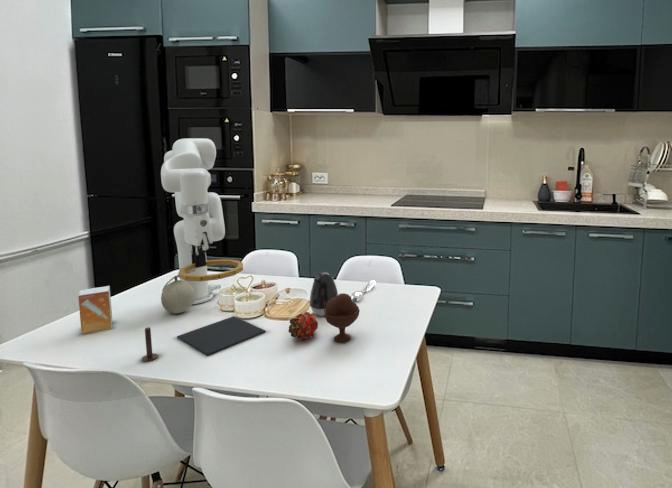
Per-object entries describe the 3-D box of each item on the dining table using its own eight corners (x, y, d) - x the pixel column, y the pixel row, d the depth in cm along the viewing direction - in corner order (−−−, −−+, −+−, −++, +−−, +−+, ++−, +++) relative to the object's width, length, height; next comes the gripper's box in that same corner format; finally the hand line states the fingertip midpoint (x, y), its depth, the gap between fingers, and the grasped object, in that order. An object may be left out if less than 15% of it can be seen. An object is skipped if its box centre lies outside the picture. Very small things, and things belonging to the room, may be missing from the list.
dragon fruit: (293, 351, 131) (308, 339, 142) (316, 336, 130) (328, 324, 142) (278, 328, 131) (294, 317, 143) (300, 312, 131) (314, 302, 143)
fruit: (153, 316, 153) (149, 275, 151) (181, 304, 163) (178, 266, 162) (175, 320, 149) (172, 278, 147) (202, 308, 160) (199, 269, 158)
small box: (81, 334, 139) (77, 295, 137) (83, 327, 144) (79, 289, 143) (112, 328, 143) (108, 290, 142) (113, 321, 148) (109, 285, 147)
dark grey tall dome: (303, 316, 152) (302, 274, 150) (321, 305, 162) (319, 266, 160) (328, 321, 148) (327, 278, 147) (344, 309, 158) (343, 269, 156)
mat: (233, 317, 152) (233, 316, 151) (265, 332, 140) (265, 330, 140) (177, 337, 136) (176, 336, 136) (207, 356, 125) (207, 354, 125)
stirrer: (368, 275, 184) (378, 276, 183) (368, 283, 185) (378, 284, 184) (348, 294, 165) (359, 295, 164) (348, 303, 166) (360, 304, 165)
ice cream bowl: (365, 333, 139) (364, 288, 137) (349, 350, 128) (347, 301, 126) (336, 329, 142) (335, 285, 140) (317, 344, 132) (316, 297, 130)
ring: (224, 260, 147) (224, 256, 147) (254, 270, 136) (254, 265, 136) (168, 273, 133) (168, 269, 133) (196, 285, 122) (196, 280, 122)
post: (154, 353, 127) (152, 324, 126) (160, 357, 124) (158, 327, 123) (139, 359, 124) (136, 328, 123) (145, 363, 121) (142, 332, 120)
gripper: (219, 210, 136) (223, 267, 138) (195, 205, 145) (199, 259, 147) (195, 213, 130) (199, 273, 132) (171, 208, 139) (175, 264, 141)
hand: (199, 265), depth 140 cm, fingers closed on ring, 1 cm apart
